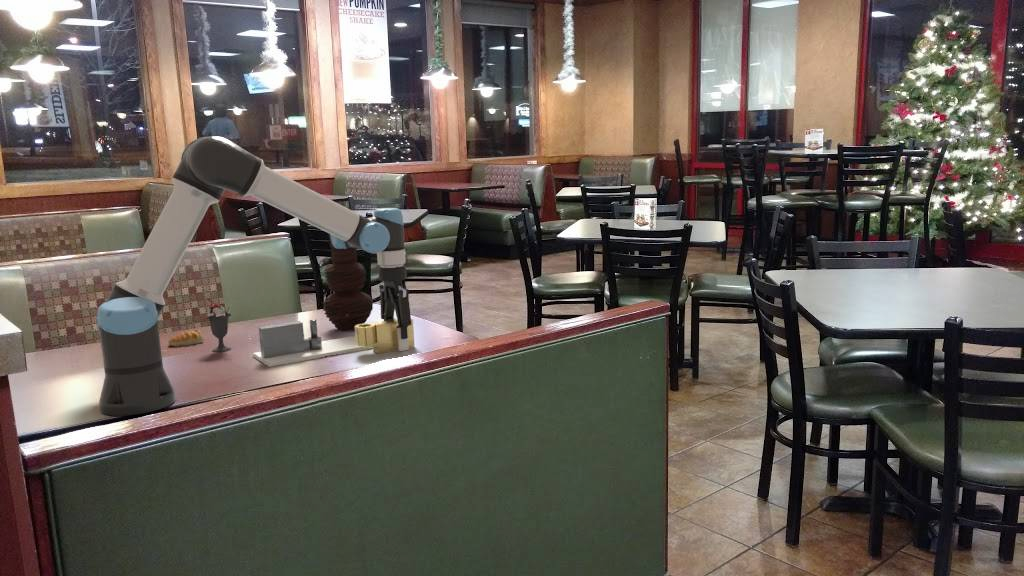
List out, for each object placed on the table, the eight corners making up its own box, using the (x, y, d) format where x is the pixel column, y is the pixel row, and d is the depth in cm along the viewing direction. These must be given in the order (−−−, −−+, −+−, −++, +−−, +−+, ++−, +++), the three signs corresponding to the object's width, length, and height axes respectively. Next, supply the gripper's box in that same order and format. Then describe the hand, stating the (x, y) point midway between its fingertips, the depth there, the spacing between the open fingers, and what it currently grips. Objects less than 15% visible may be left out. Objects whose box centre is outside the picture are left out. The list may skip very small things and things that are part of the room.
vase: (322, 326, 251) (315, 232, 246) (371, 321, 256) (364, 229, 251) (326, 336, 237) (318, 236, 232) (377, 331, 241) (371, 233, 236)
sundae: (203, 351, 223) (198, 299, 220) (222, 346, 229) (217, 295, 226) (220, 353, 220) (215, 300, 217) (239, 348, 226) (234, 296, 223)
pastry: (173, 349, 229) (171, 336, 228) (165, 345, 234) (164, 332, 233) (205, 343, 235) (204, 330, 234) (197, 339, 240) (196, 327, 239)
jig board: (269, 366, 204) (268, 363, 204) (253, 356, 215) (253, 352, 215) (376, 347, 220) (376, 344, 220) (356, 338, 232) (356, 335, 232)
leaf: (361, 357, 210) (359, 328, 209) (354, 354, 214) (352, 325, 213) (416, 347, 219) (414, 319, 217) (407, 344, 223) (406, 316, 222)
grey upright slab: (265, 358, 208) (262, 329, 207) (261, 356, 211) (258, 327, 210) (323, 348, 217) (321, 320, 216) (319, 346, 220) (317, 318, 219)
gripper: (421, 267, 208) (426, 351, 212) (389, 260, 225) (394, 339, 229) (395, 270, 204) (401, 356, 208) (364, 263, 220) (370, 343, 224)
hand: (397, 347), depth 218 cm, fingers open, 7 cm apart
